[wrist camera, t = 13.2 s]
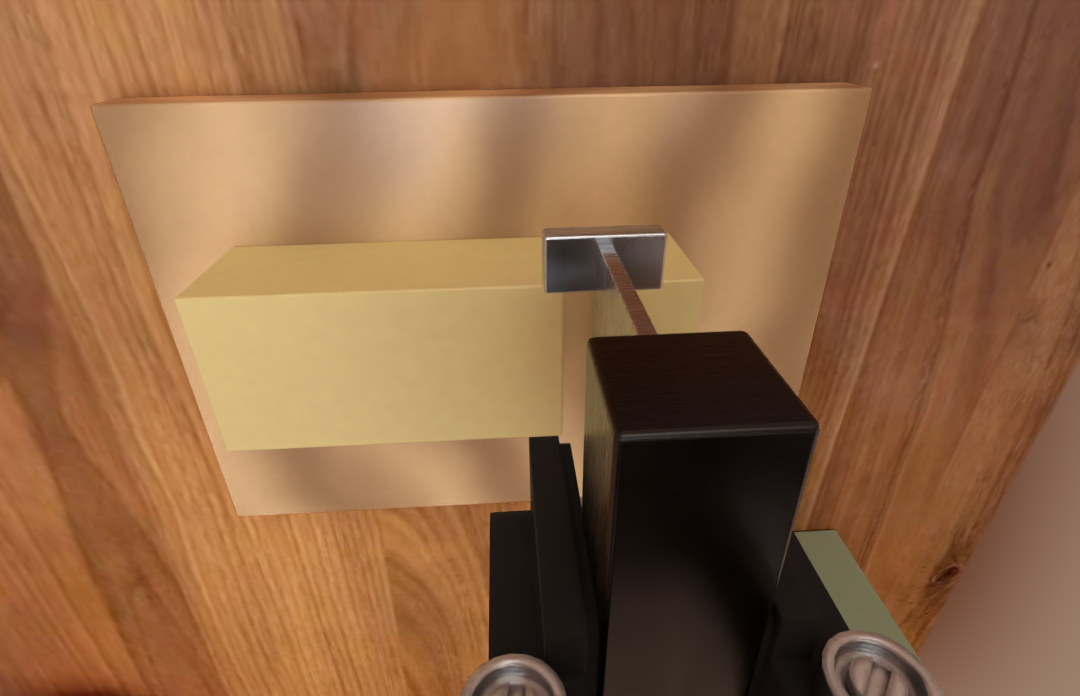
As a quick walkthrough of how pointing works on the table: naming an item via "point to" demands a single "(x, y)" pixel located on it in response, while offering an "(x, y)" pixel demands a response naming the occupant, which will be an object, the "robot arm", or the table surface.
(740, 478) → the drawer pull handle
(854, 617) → the stand
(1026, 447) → the table surface
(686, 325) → the butter slice
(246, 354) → the butter stick
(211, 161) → the board
